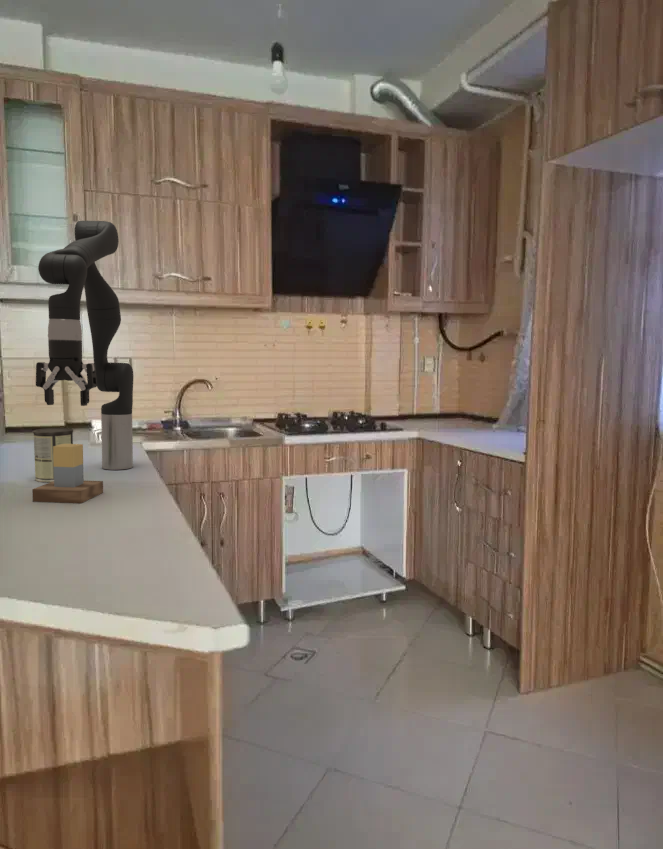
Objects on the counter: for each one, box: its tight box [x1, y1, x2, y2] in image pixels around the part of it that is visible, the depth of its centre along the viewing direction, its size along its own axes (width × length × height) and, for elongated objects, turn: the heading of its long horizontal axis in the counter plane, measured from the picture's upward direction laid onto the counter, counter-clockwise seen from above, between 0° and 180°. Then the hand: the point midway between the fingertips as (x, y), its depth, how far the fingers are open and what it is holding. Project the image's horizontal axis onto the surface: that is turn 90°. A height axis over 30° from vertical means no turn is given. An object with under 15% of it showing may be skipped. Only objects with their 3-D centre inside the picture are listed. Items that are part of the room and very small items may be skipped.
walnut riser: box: [31, 480, 104, 504], centre depth 150 cm, size 12×12×3 cm
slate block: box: [54, 463, 85, 487], centre depth 150 cm, size 5×5×5 cm
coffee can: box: [32, 427, 74, 483], centre depth 172 cm, size 10×10×14 cm
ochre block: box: [53, 443, 84, 467], centre depth 150 cm, size 5×5×5 cm
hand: (67, 405), depth 148 cm, fingers open, 8 cm apart
